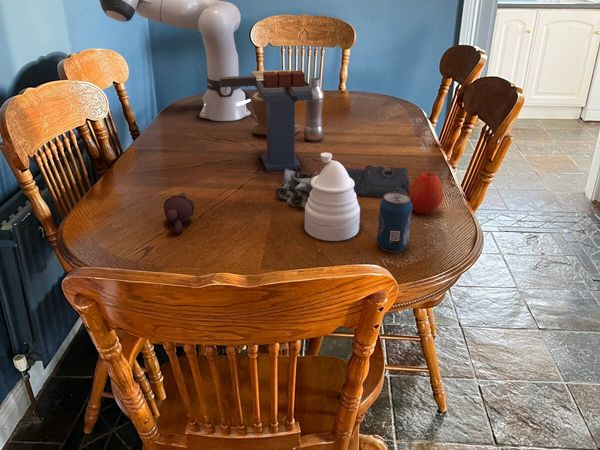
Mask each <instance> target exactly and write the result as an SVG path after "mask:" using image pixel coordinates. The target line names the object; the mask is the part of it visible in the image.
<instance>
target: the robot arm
mask: <svg viewBox="0 0 600 450" xmlns="http://www.w3.org/2000/svg"><path fill="white" fill-rule="evenodd" d="M98 1H99V3H100V7H101V9H102V11H103V13H104V14H105V15H106V16H107V17H109V18H111V19H112V20H115V21H117V22H122V23H125V22H130V21H131V20H132V19H133V17H134V15H135V14H136V13H137V15H138V16H140V17H142V18H144V19H146V20H149V21H151V22H154V23H158V24H161V25H166V26H170V27H174V28H178V29H182V30H189V31H190V30H191V31H199V32H200V34H201V39H202V43H203V47H204V50H205V51H204V52H205V57H206V68H207V69H206V70H207V77H206V87H207V90H206V92H204V94H203V95H202V102H203V105H202V109H201V111H200V112H199V118H200V119H201V118H202V119H208V120H210V121H214V122H215V121H217V122H232V121H238V120H242V119H243V118H245V117H248V116H251V115H252V112H251V111H250V110H249V109H248V108H247V103H249V102H251V99H250V98H249V99H247V100H246V98H247V97H249V93H248V92H247V91H245V90H242V89H241V87H242V86H239V87H221V86H220V77H233V76H240V70H239V54H238V52H237V48H236V43H235V37H234V33H235V32H236V31H237V30H238V29H239V28H240V24H241V18H242V17H241V12H240V9H239V8H238V7H237V6H236V4H234V3H232V2H230V1H229V2H228V1H224V0H98ZM245 87H249V86H245Z"/></svg>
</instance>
